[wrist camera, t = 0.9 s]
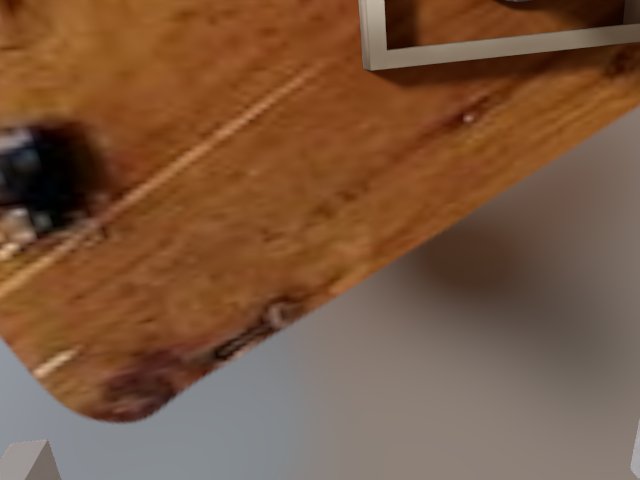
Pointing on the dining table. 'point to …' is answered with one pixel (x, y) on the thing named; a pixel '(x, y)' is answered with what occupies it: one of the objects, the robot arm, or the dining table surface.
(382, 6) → the open square frame
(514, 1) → the mug
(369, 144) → the dining table surface
